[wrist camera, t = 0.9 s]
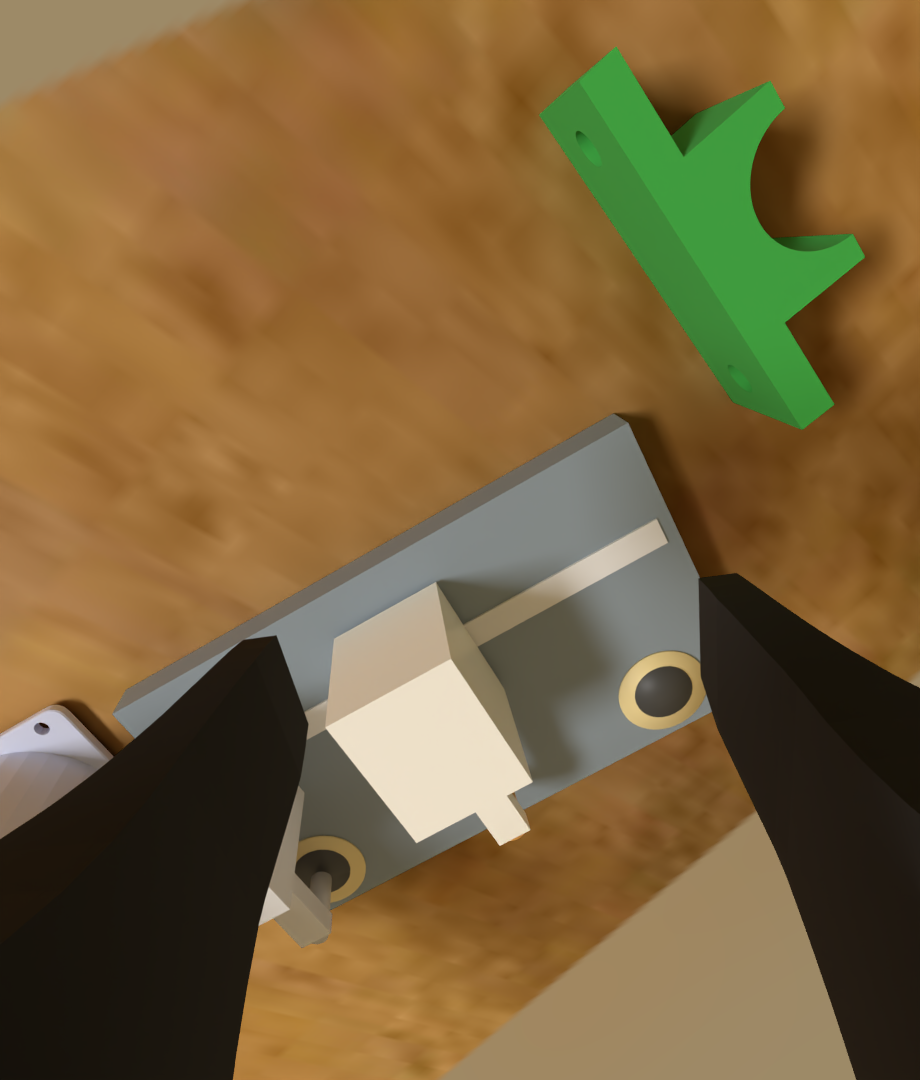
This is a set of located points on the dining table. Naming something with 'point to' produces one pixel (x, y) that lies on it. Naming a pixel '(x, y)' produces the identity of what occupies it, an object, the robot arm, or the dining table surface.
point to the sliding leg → (427, 720)
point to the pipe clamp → (705, 230)
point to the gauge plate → (486, 652)
